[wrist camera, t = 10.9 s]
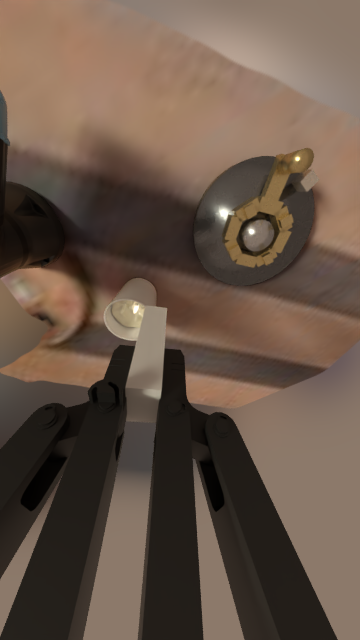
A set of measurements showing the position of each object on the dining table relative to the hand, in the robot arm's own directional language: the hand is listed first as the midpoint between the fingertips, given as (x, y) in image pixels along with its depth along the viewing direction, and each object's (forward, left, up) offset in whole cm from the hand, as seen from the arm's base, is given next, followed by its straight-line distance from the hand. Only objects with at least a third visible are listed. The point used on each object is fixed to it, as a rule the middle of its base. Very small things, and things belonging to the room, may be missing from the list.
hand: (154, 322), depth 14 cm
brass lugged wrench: (+15, +7, -28) cm, 32 cm away
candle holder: (-5, -15, -31) cm, 35 cm away
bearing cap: (+15, +4, -31) cm, 35 cm away
